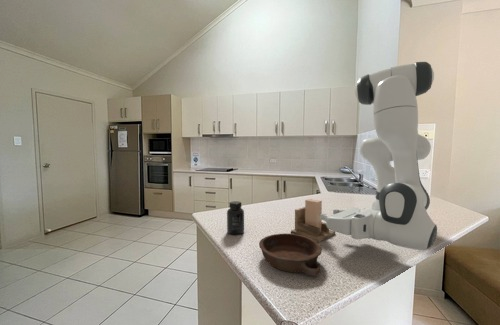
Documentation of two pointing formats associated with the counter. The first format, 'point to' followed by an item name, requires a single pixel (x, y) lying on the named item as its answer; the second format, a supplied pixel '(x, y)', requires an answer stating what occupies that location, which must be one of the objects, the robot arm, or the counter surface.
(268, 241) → the dish
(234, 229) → the supplement bottle
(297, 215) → the tan railed base plate
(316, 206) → the clay block
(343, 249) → the counter surface
